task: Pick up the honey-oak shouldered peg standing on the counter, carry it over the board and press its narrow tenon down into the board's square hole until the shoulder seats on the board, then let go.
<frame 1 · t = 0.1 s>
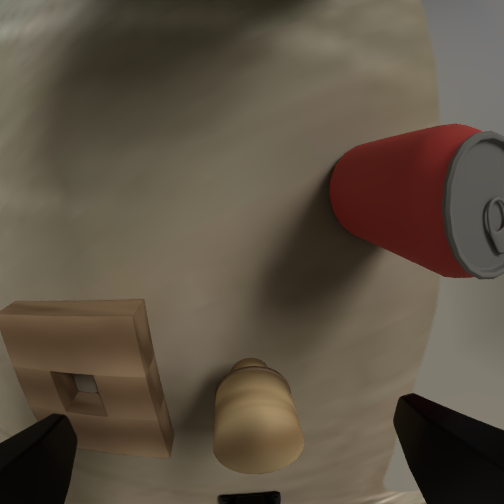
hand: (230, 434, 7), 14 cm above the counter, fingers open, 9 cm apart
peg: (250, 373, 23), on the counter
beer can: (369, 191, 21), on the counter
board: (91, 374, 22), on the counter
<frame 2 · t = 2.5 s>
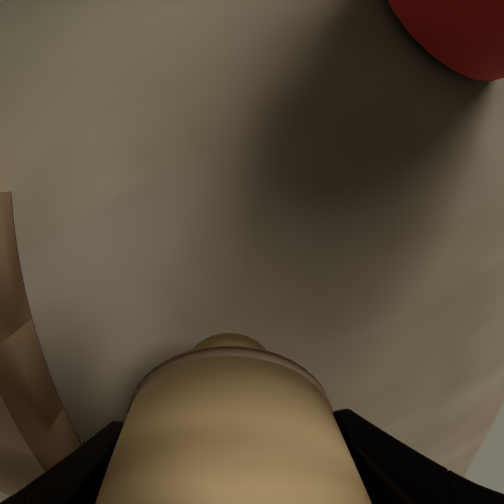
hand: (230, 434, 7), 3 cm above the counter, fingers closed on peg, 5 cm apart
peg: (229, 370, 10), on the counter, touching gripper
beer can: (442, 13, 8), on the counter
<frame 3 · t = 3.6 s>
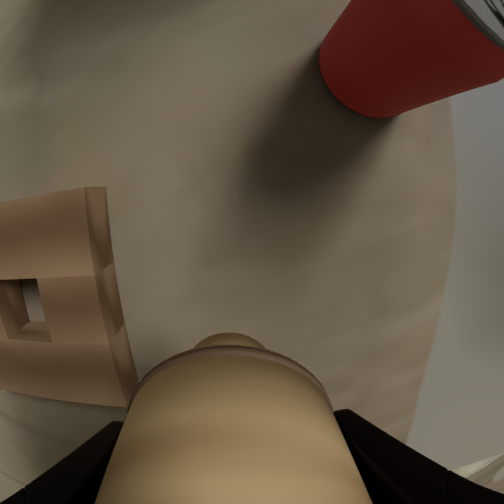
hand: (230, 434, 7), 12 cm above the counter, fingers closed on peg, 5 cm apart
peg: (229, 370, 10), point 9 cm above the counter, touching gripper
beer can: (364, 72, 17), on the counter
board: (43, 295, 18), on the counter
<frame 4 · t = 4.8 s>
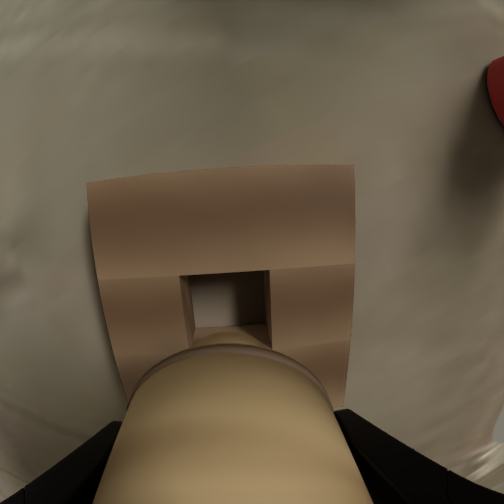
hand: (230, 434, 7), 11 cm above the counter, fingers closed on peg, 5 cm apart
peg: (229, 369, 10), point 8 cm above the counter, touching gripper
board: (227, 293, 17), on the counter
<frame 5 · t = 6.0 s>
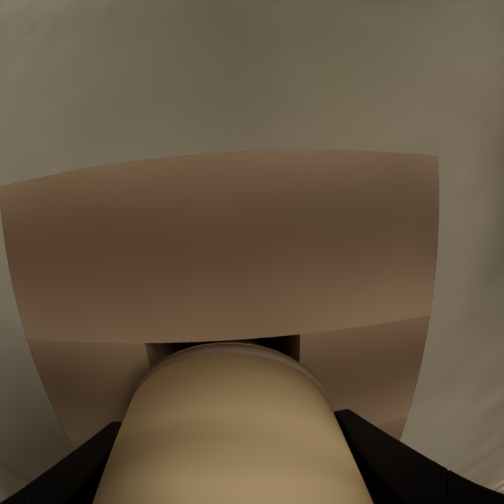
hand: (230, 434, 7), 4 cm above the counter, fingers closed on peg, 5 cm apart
peg: (229, 368, 10), point 1 cm above the counter, touching gripper
board: (227, 350, 11), on the counter
when the fingers open (3 cm above the counter, at t = 7.2 s): peg stays where it is, resting on board.
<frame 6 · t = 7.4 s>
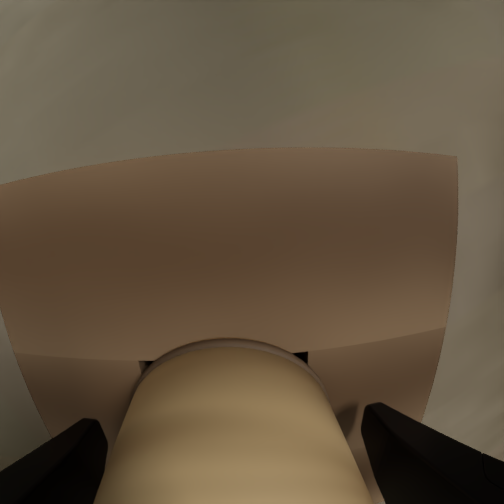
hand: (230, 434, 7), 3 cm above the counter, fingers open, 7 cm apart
peg: (229, 364, 10), resting on board
board: (228, 363, 10), on the counter
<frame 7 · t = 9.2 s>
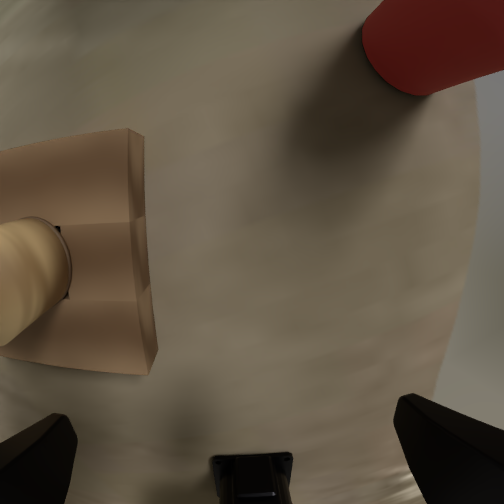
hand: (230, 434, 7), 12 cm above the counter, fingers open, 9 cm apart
peg: (59, 251, 17), resting on board
beer can: (401, 53, 16), on the counter
board: (60, 251, 17), on the counter
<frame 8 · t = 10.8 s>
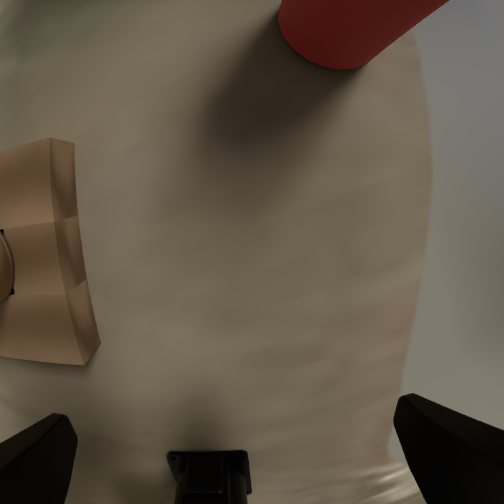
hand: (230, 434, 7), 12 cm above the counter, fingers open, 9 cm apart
peg: (12, 253, 17), resting on board
beer can: (327, 30, 16), on the counter
board: (13, 254, 17), on the counter
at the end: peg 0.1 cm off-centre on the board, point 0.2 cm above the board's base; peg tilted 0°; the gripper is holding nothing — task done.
